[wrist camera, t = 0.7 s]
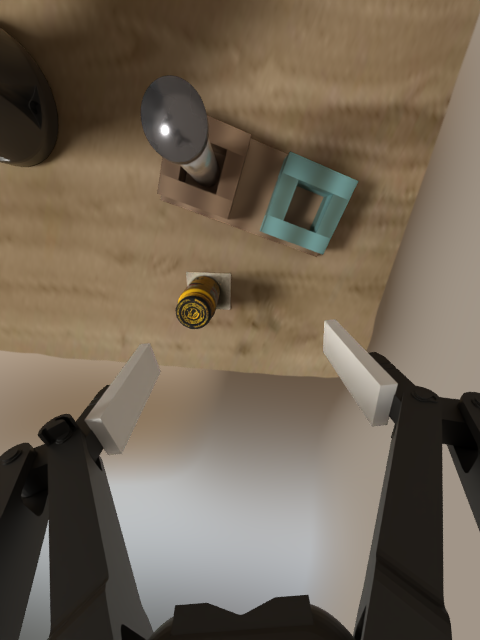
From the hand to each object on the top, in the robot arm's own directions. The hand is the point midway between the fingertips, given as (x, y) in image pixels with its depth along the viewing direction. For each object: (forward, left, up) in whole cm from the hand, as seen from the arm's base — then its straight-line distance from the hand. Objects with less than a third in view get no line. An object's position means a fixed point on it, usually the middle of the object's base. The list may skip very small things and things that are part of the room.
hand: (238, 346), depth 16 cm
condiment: (0, -7, -27) cm, 28 cm away
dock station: (-10, +9, -27) cm, 30 cm away
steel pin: (-16, +4, -25) cm, 30 cm away
